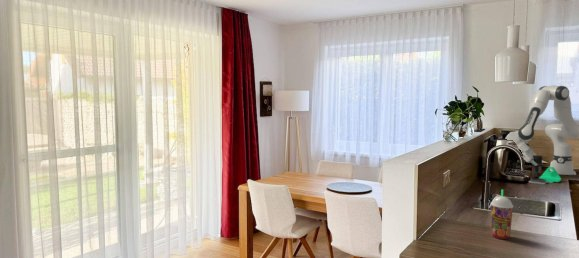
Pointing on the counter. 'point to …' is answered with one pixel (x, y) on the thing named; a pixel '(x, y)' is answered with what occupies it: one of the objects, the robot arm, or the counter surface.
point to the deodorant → (537, 169)
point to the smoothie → (501, 216)
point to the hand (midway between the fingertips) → (538, 164)
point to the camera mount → (551, 175)
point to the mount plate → (538, 181)
